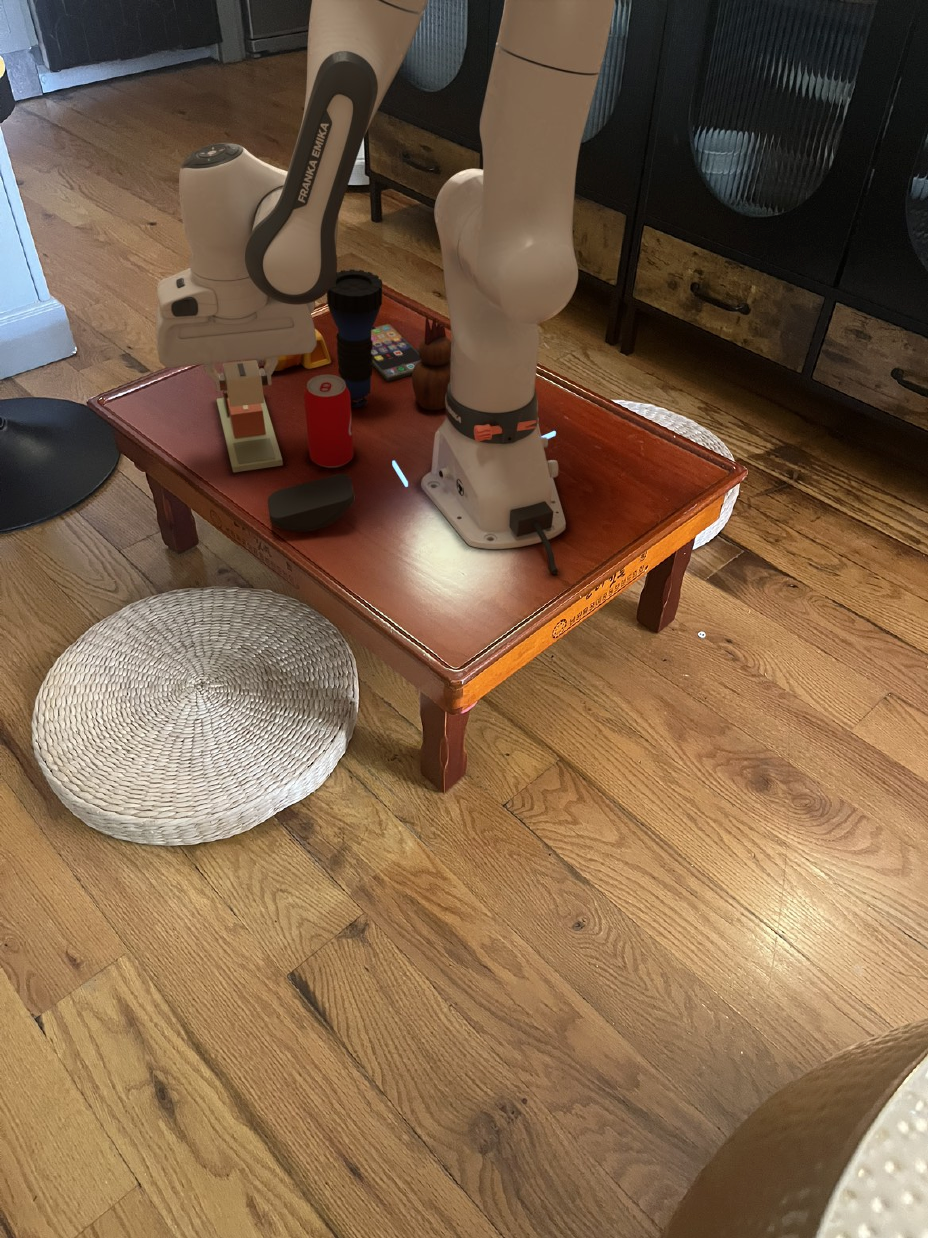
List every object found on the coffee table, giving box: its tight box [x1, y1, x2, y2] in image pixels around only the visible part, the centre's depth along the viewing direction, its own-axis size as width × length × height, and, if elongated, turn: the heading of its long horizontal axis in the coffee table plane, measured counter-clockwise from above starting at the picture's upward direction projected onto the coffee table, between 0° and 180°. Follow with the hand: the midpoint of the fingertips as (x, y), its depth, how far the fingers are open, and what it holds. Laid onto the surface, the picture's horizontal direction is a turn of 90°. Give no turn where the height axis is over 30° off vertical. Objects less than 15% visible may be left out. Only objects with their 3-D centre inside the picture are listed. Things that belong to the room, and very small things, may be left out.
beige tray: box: [216, 397, 284, 473], centre depth 135 cm, size 18×7×5 cm, turn 17°
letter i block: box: [221, 359, 265, 407], centre depth 125 cm, size 4×4×4 cm
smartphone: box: [371, 323, 421, 382], centre depth 154 cm, size 8×15×1 cm, turn 31°
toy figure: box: [254, 328, 332, 372], centre depth 149 cm, size 5×6×12 cm
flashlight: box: [326, 269, 383, 408], centre depth 136 cm, size 8×8×20 cm
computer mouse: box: [267, 473, 355, 533], centre depth 122 cm, size 6×11×4 cm, turn 102°
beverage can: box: [303, 374, 355, 469], centre depth 130 cm, size 6×6×12 cm
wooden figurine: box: [411, 317, 451, 411], centre depth 139 cm, size 7×6×15 cm
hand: (243, 386), depth 125 cm, fingers closed on letter i block, 4 cm apart
